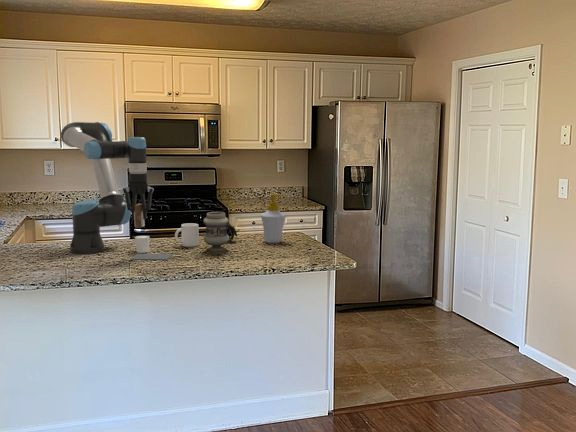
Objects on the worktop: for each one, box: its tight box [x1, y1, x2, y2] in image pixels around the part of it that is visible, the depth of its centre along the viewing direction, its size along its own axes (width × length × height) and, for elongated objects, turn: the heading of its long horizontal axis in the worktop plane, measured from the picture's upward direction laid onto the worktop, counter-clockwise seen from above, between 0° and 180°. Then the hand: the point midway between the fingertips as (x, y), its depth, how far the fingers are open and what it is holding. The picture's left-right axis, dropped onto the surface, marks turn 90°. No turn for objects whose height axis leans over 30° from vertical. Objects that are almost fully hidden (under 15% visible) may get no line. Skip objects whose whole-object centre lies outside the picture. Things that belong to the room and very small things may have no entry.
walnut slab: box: [134, 203, 143, 229], centre depth 250 cm, size 2×6×10 cm, turn 0°
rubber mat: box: [130, 253, 173, 261], centre depth 253 cm, size 16×10×1 cm, turn 90°
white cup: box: [134, 235, 151, 254], centre depth 264 cm, size 7×7×7 cm
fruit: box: [226, 223, 241, 244], centre depth 288 cm, size 10×11×15 cm
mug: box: [174, 222, 200, 248], centre depth 278 cm, size 12×8×10 cm
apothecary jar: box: [203, 211, 230, 254], centre depth 266 cm, size 12×12×18 cm
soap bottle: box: [260, 193, 287, 244], centre depth 288 cm, size 13×13×25 cm
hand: (139, 226), depth 250 cm, fingers closed on walnut slab, 2 cm apart
